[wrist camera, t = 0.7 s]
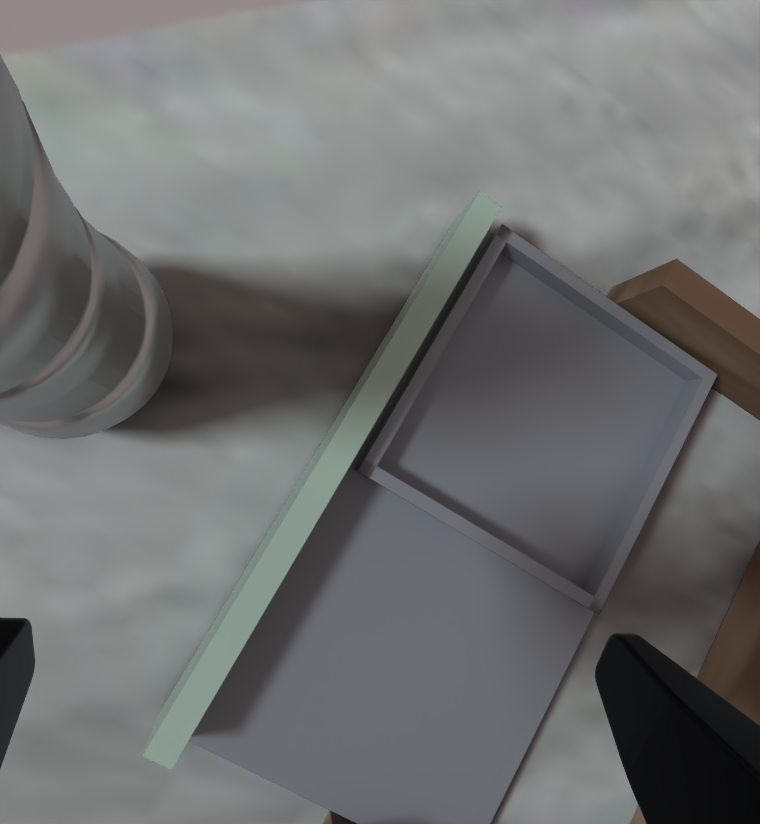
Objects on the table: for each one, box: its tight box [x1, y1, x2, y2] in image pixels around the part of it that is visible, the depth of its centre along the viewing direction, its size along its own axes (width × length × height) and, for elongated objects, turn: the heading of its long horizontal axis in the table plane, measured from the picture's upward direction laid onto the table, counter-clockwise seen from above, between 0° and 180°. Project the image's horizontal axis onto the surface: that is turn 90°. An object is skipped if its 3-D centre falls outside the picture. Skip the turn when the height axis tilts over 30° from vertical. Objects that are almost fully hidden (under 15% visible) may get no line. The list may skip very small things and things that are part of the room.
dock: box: [323, 259, 760, 824], centre depth 22 cm, size 25×13×4 cm, turn 149°
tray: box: [143, 191, 717, 824], centre depth 21 cm, size 22×13×3 cm, turn 149°
